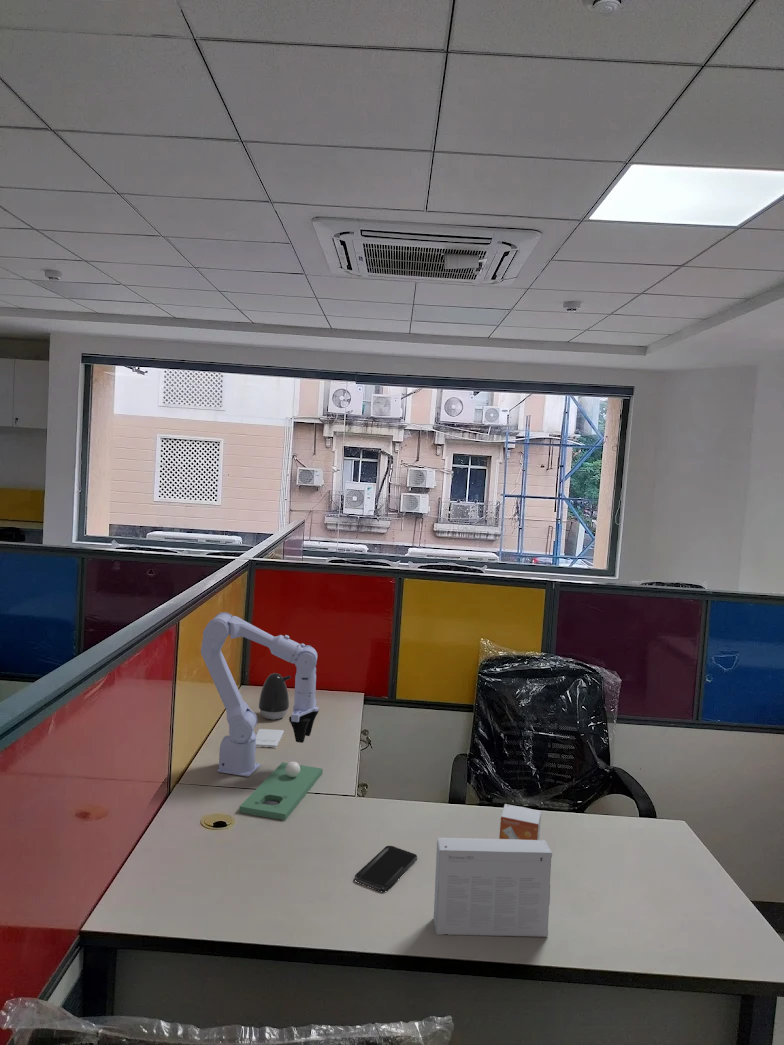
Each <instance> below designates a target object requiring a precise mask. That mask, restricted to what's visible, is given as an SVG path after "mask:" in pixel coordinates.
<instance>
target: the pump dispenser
mask: <svg viewBox="0 0 784 1045" xmlns="http://www.w3.org/2000/svg"><path fill="white" fill-rule="evenodd" d="M290 679H292V676H291V675H290V674H289V675H287V676H284V677H283V676H282V674H279V673H276V672H273V673H270V674H269V675H268V676H267V678H266V679H265V681H264V684H263V686H262V688H261V692H260V696H259V702H258V709H259V711H260V714H261V715H262V716H263V718H265V719H268V720H270V719H271V721H275V720H276V719H277V720H280V719H282V718H283V717H285V715H286V714H287V712H288V709H289V707H290V700H289V691H288V688H287V684H286V681H288V680H290Z"/></svg>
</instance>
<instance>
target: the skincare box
mask: <svg viewBox="0 0 784 1045" xmlns="http://www.w3.org/2000/svg"><path fill="white" fill-rule="evenodd" d="M552 858H553V851H552V850H551V849H550V846H549V845H548V842H547V840H545V839H539V840H518V839H499V838H478V837H477V838H476V837H475V838H473V837H472V838H471V837H470V838H467V837H437V838H436V858H435V879H434V880H435V881H434V899H433V900H434V904H433V906H434V907H433V924H434V930H435V934H436V935H443V934H448V935H449V936H450V935H451V936H454V935H455V936H491V937H493V936H497V937H498V936H499V937H500V936H501V937H502V936H503V937H504V936H505V937H507V936H508V937H544V938H545V937H546V938H547V937H548V936H549V913H550V900H551V871H552V870H551V868H552Z"/></svg>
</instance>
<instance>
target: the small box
mask: <svg viewBox="0 0 784 1045" xmlns="http://www.w3.org/2000/svg"><path fill="white" fill-rule="evenodd" d="M502 809H503V810H502V812H501V816H500V825H499V836H498V837H499V838H498V839H518V840H540V836H541V835H540V833H541V820H542V811H541V810H538V809H532V808H528V807H525V806H517V805H512V804H506V803H504V805H503V808H502Z"/></svg>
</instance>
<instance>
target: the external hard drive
mask: <svg viewBox="0 0 784 1045" xmlns="http://www.w3.org/2000/svg"><path fill="white" fill-rule="evenodd" d="M283 733H284V734H285V730H283V729H268V728H259V729H258V730H257V731H256V733H255V734H256V746H268V747H277V745H278V743H279V741H280V742H281V740H282V738H283V736H284V734H283ZM282 735H283V736H282ZM281 737H282V738H281ZM280 739H281V740H280ZM279 744H280V743H279ZM278 746H279V745H278ZM277 748H278V747H277Z"/></svg>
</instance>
